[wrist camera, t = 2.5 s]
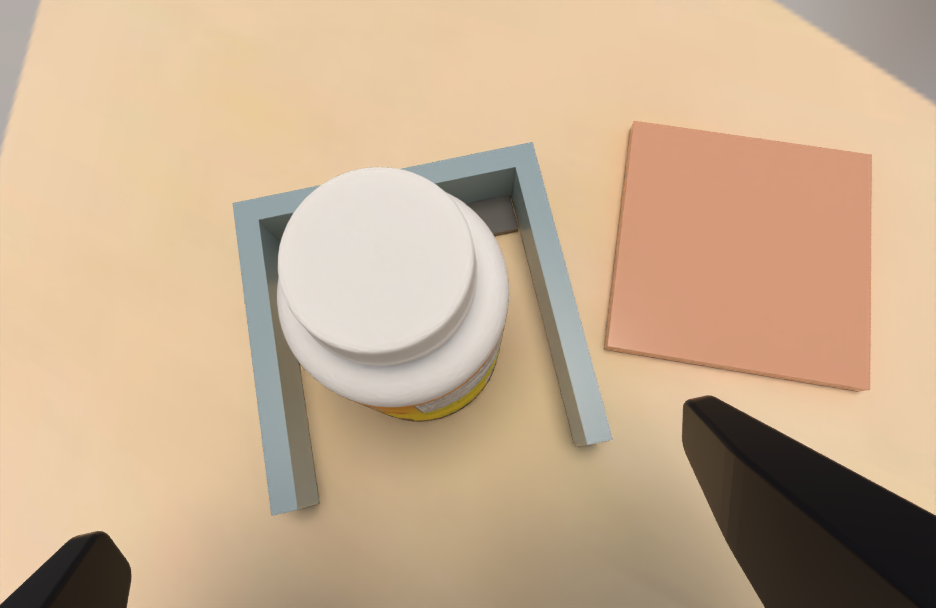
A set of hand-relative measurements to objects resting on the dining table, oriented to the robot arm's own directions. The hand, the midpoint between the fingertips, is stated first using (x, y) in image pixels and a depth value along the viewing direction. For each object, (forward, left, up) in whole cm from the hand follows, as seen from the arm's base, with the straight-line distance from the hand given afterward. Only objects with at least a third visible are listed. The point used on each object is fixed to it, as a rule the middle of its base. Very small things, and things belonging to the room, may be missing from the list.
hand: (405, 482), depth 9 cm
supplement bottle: (+4, +2, -12) cm, 13 cm away
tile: (+10, -9, -12) cm, 18 cm away
